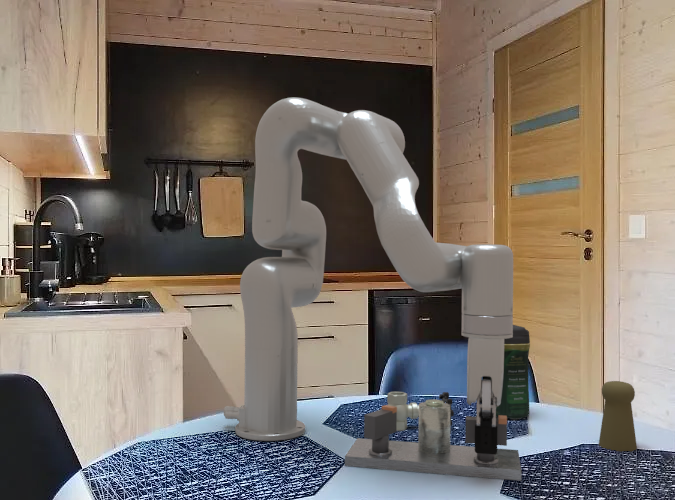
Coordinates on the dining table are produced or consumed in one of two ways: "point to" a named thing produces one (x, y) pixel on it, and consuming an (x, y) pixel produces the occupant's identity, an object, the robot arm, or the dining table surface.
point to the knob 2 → (501, 435)
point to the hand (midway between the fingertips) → (485, 446)
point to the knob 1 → (380, 427)
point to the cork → (618, 417)
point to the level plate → (435, 460)
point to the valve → (410, 408)
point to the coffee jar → (515, 376)
